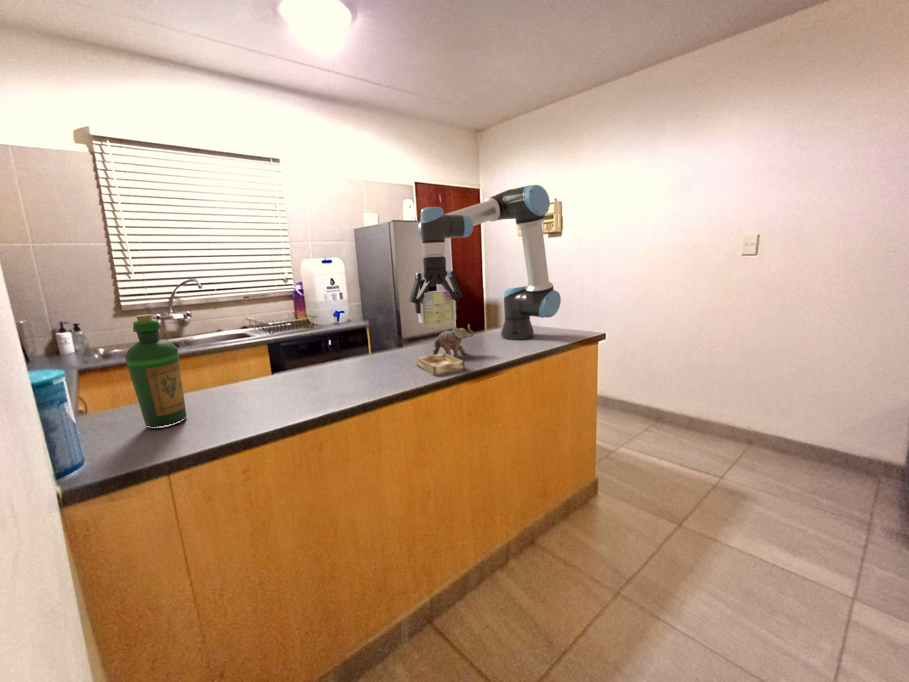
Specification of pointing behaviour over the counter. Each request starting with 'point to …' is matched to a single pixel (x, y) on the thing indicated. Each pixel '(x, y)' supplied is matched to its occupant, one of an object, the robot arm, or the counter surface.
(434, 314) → the box
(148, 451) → the counter surface
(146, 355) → the bottle
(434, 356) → the tray
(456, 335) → the figurine
